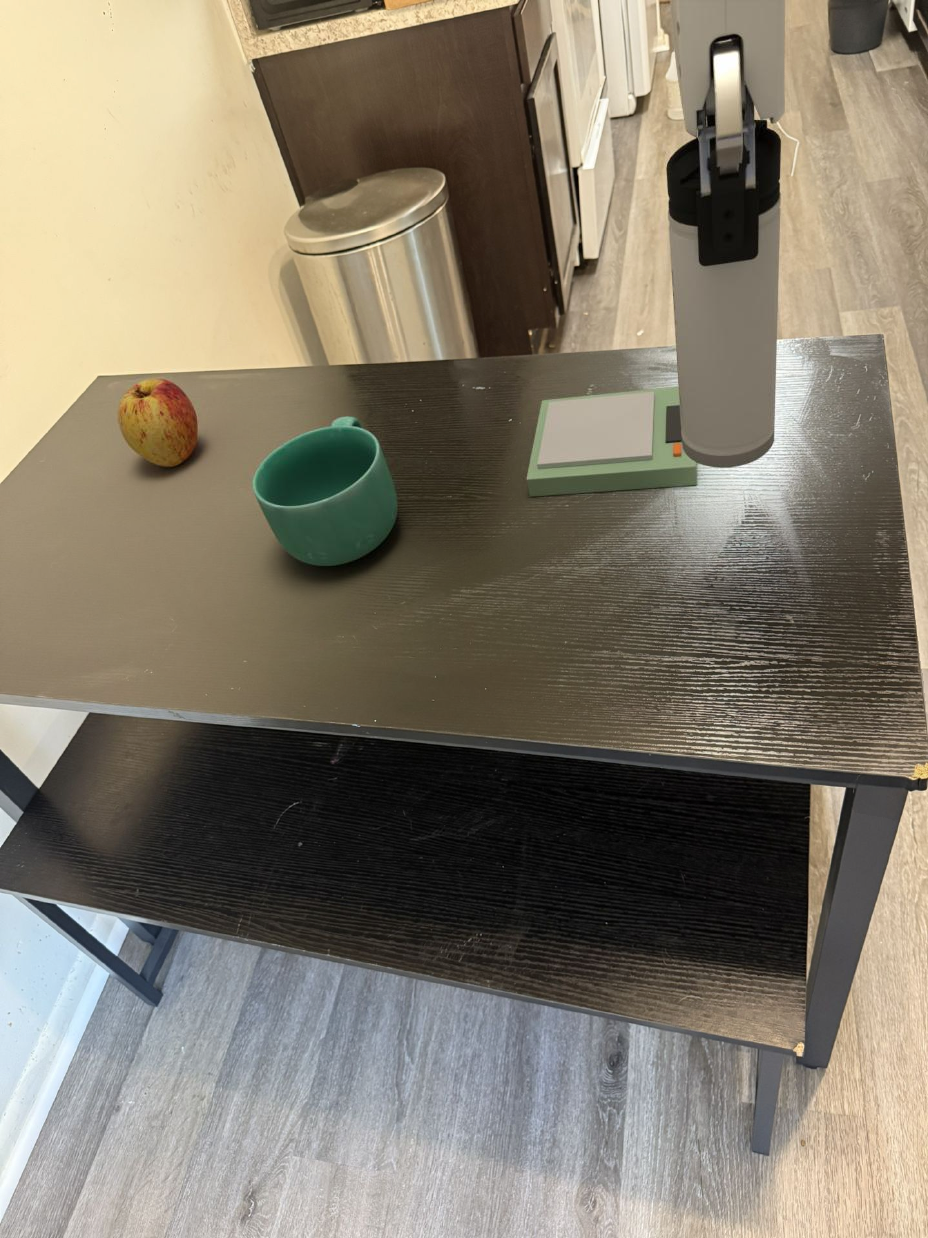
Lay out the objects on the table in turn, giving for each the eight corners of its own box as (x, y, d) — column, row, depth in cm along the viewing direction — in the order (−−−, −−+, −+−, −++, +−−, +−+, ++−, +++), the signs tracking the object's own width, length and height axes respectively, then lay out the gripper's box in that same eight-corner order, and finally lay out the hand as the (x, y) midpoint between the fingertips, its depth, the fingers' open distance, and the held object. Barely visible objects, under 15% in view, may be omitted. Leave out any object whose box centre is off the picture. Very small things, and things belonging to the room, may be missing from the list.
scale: (695, 402, 91) (694, 378, 89) (697, 485, 81) (695, 460, 79) (544, 417, 95) (540, 395, 93) (529, 497, 86) (524, 474, 84)
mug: (382, 585, 81) (351, 506, 75) (267, 582, 85) (228, 507, 79) (433, 477, 92) (410, 399, 85) (329, 478, 96) (299, 405, 90)
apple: (221, 456, 105) (184, 383, 98) (151, 489, 103) (109, 417, 96) (201, 427, 111) (165, 357, 104) (135, 458, 109) (95, 388, 102)
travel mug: (793, 426, 61) (807, 118, 47) (744, 479, 58) (744, 167, 45) (714, 407, 65) (706, 116, 51) (665, 456, 62) (642, 162, 48)
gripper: (833, -167, 32) (808, 293, 44) (790, -204, 44) (780, 169, 56) (628, -112, 34) (659, 313, 46) (639, -161, 46) (661, 189, 58)
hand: (725, 231), depth 51 cm, fingers closed on travel mug, 6 cm apart
